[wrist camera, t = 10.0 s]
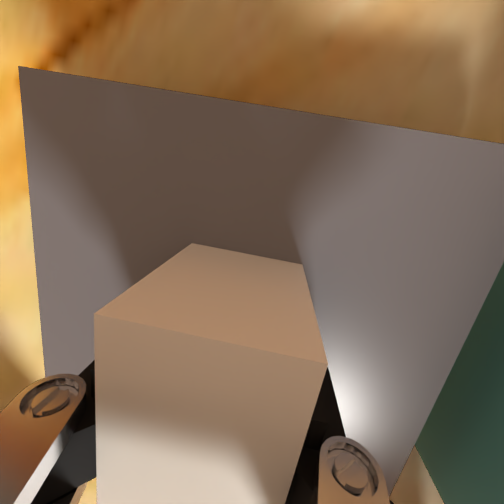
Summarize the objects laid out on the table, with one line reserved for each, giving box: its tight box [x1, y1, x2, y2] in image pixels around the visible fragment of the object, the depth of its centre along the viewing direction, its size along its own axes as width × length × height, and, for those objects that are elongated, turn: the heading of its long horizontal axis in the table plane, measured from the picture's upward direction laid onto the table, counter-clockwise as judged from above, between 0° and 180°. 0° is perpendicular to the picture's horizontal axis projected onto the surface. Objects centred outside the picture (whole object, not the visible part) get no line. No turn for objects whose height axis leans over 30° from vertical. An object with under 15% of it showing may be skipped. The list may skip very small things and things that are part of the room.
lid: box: [18, 66, 504, 504], centre depth 9 cm, size 16×16×7 cm
